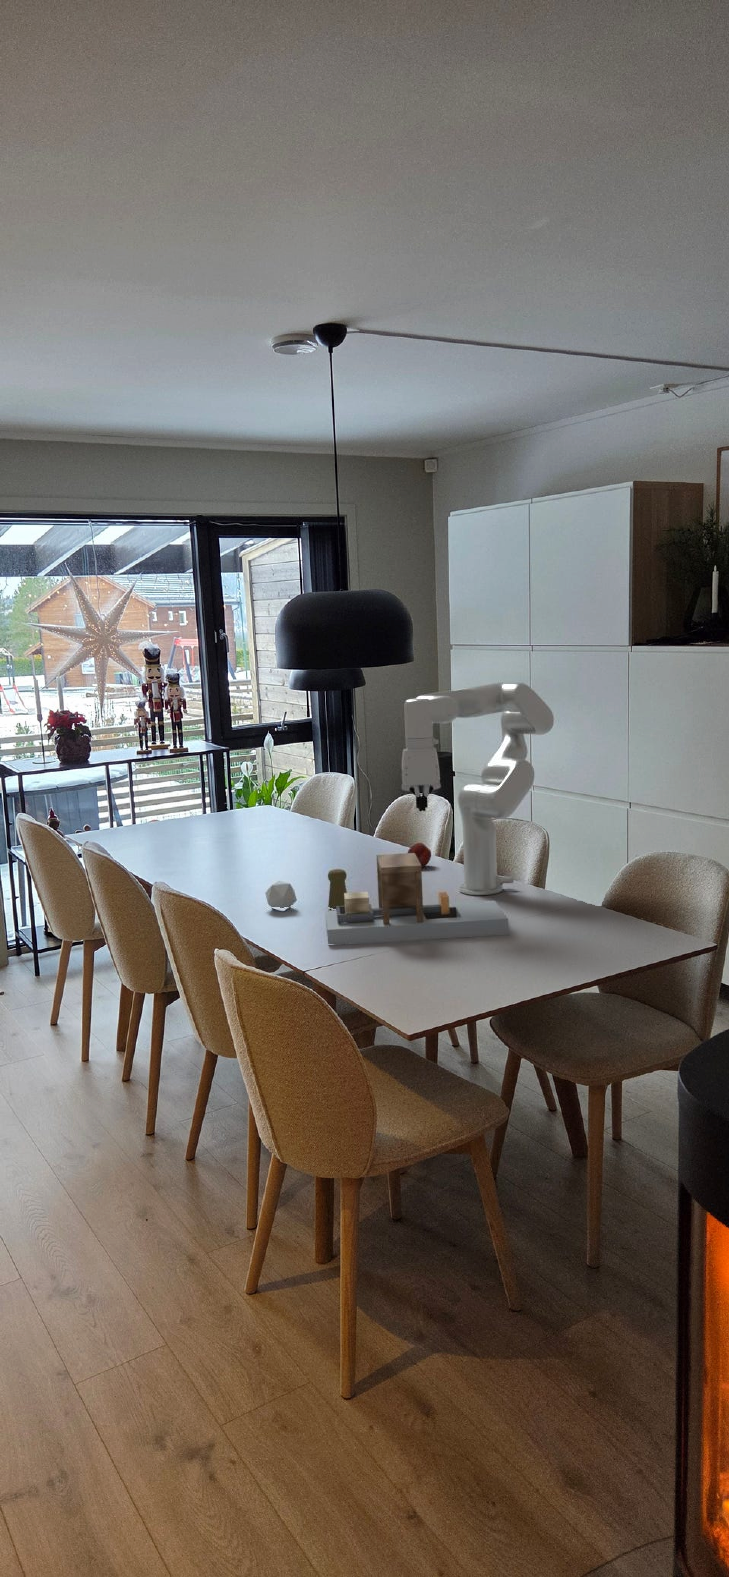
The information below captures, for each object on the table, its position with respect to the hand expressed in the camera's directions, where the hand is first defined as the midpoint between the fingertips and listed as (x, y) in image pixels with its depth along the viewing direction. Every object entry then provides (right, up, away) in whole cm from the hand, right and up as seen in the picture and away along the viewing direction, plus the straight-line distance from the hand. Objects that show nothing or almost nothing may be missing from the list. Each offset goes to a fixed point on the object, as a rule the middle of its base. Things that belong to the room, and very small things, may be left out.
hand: (422, 810), depth 285 cm
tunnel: (-7, -26, -19) cm, 33 cm away
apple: (+2, -20, +53) cm, 56 cm away
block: (-18, -27, -19) cm, 38 cm away
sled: (-9, -26, -19) cm, 34 cm away
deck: (-3, -30, -18) cm, 35 cm away
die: (-39, -28, +8) cm, 49 cm away
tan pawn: (-23, -28, +7) cm, 37 cm away
